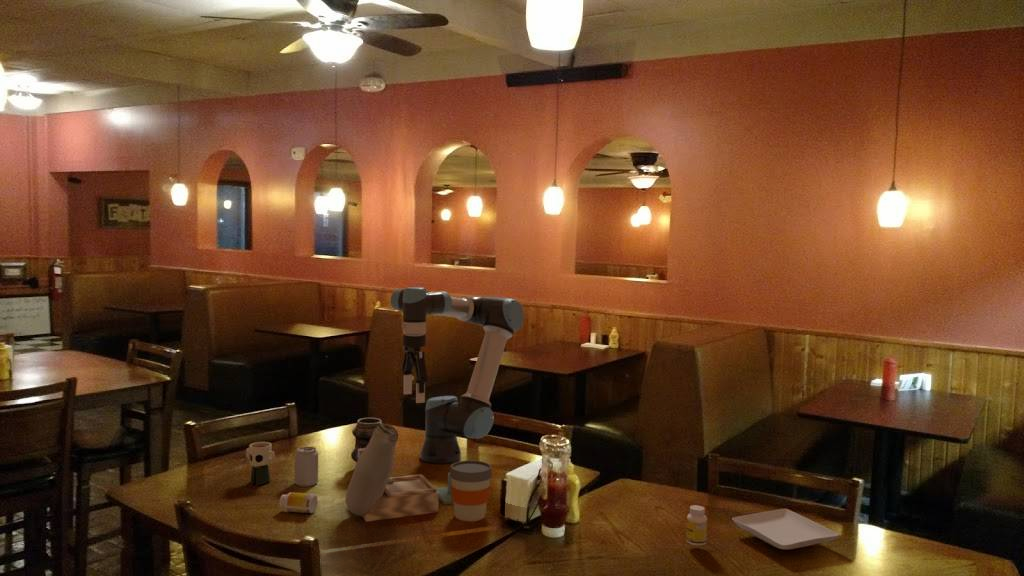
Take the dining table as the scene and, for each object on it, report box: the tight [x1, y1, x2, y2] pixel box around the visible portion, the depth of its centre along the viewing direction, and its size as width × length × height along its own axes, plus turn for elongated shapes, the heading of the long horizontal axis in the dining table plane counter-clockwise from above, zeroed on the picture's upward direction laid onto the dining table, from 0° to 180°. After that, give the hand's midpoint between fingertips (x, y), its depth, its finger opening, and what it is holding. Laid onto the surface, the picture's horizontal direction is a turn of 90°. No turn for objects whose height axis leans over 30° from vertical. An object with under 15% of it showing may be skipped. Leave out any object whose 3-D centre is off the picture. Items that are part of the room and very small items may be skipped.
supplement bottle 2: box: [685, 504, 708, 546], centre depth 206 cm, size 5×5×10 cm
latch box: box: [361, 473, 439, 522], centre depth 226 cm, size 22×16×7 cm
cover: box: [435, 471, 454, 505], centre depth 238 cm, size 12×12×8 cm
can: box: [294, 446, 319, 488], centre depth 245 cm, size 8×8×12 cm
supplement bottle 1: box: [279, 491, 319, 514], centre depth 221 cm, size 6×6×10 cm
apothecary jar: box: [350, 417, 383, 463], centre depth 261 cm, size 12×12×18 cm
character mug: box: [245, 441, 276, 486], centre depth 245 cm, size 11×7×13 cm, turn 73°
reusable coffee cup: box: [449, 459, 493, 522], centre depth 221 cm, size 13×12×15 cm
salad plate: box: [731, 508, 840, 550], centre depth 212 cm, size 21×21×3 cm
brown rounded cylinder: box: [345, 423, 399, 517], centre depth 217 cm, size 10×10×28 cm
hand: (413, 398), depth 245 cm, fingers open, 13 cm apart
